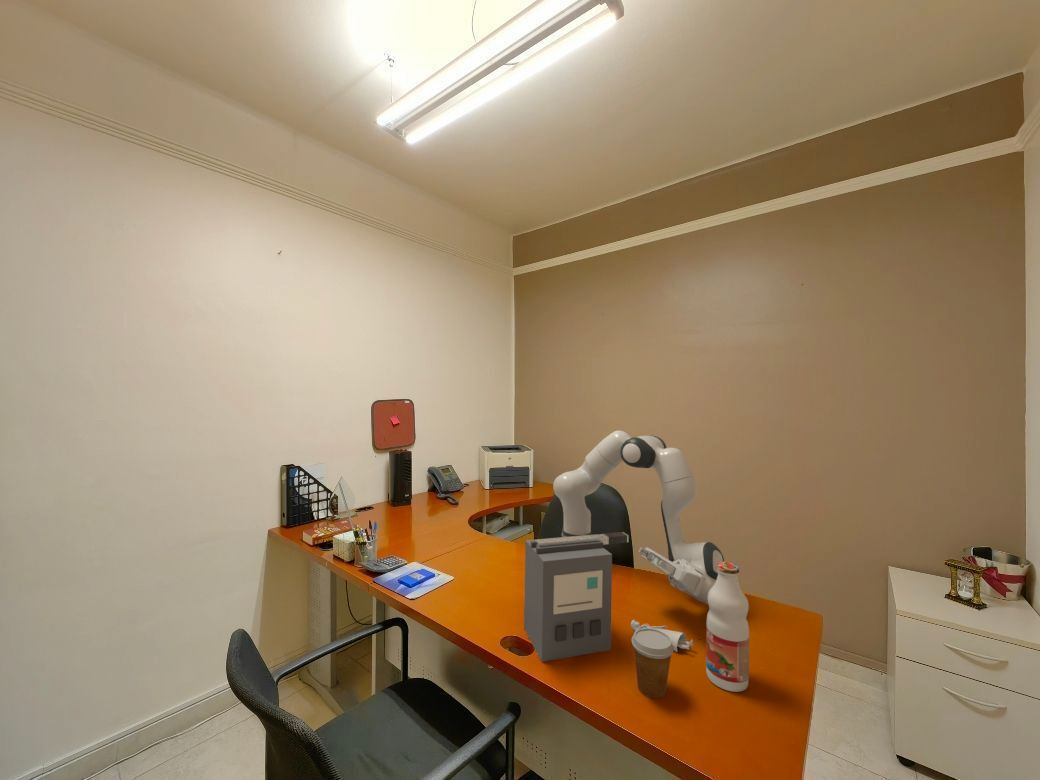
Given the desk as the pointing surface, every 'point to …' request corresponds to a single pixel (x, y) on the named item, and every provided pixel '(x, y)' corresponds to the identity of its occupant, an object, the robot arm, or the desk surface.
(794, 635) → the desk surface
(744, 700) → the desk surface
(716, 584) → the fruit juice
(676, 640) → the woman figurine
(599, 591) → the grey grooved block
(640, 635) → the disposable coffee cup
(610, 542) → the bar
